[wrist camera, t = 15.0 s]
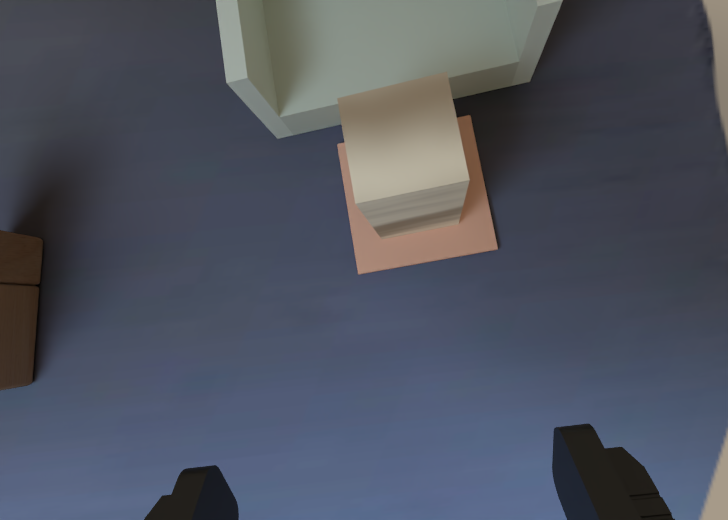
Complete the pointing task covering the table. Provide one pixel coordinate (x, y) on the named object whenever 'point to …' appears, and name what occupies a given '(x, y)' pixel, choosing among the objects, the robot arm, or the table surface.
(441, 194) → the birch block
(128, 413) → the table surface
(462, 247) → the mat
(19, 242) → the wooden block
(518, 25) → the cubby
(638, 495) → the robot arm
